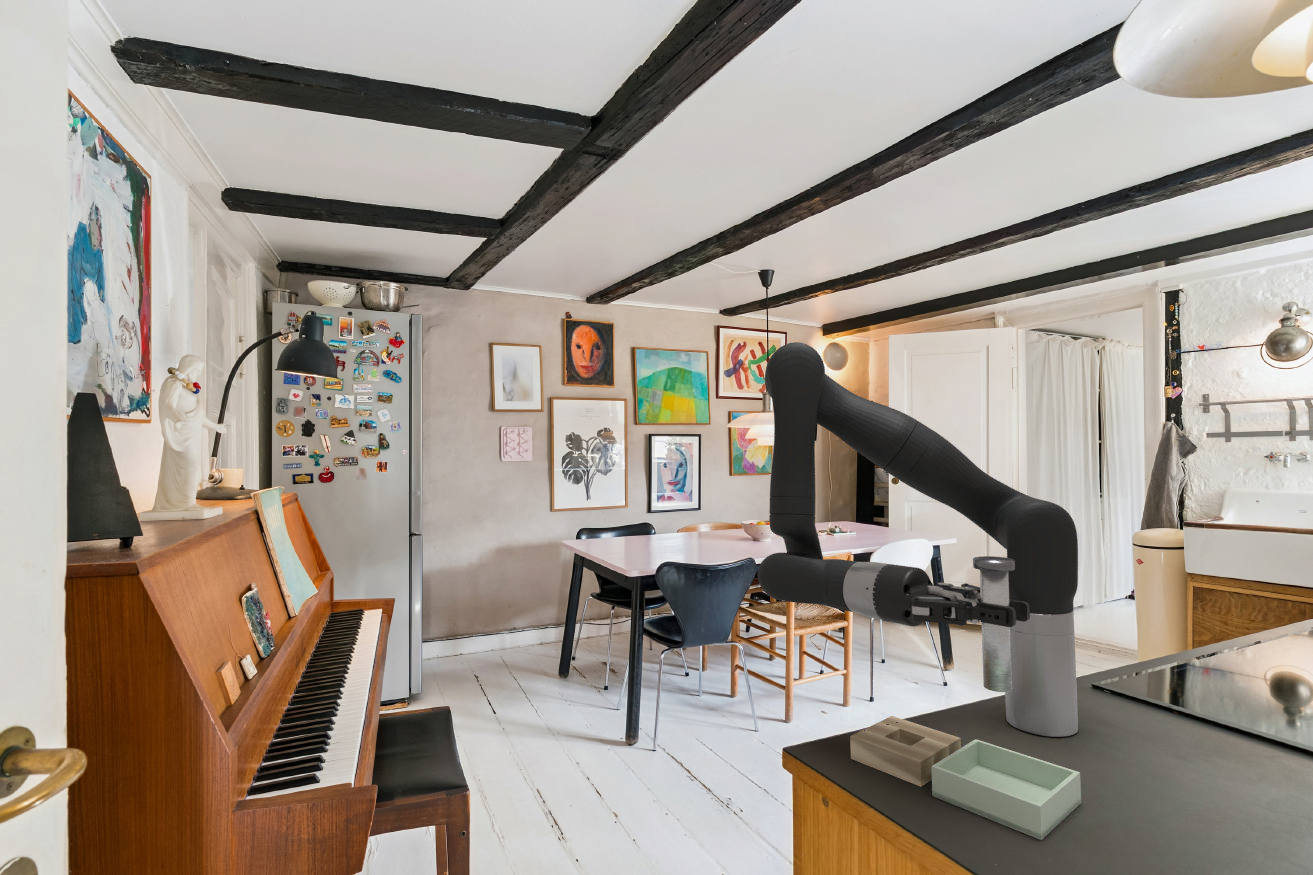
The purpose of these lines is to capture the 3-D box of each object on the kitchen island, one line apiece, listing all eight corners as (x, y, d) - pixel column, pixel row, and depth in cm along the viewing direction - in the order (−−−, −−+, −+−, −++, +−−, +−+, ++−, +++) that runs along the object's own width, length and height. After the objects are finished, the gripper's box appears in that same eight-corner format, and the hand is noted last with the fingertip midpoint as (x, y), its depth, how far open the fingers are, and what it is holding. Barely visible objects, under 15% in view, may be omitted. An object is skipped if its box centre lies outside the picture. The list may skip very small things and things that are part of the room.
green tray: (976, 766, 86) (975, 738, 86) (1081, 802, 77) (1080, 772, 77) (932, 795, 79) (931, 766, 79) (1041, 840, 70) (1040, 806, 70)
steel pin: (987, 678, 82) (983, 555, 82) (1025, 687, 78) (1021, 559, 78) (970, 686, 79) (965, 559, 79) (1008, 697, 75) (1004, 563, 76)
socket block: (892, 736, 95) (891, 715, 95) (961, 760, 88) (960, 737, 88) (850, 758, 89) (850, 735, 89) (921, 786, 81) (920, 761, 81)
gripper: (854, 571, 86) (991, 591, 72) (914, 557, 94) (1046, 573, 81) (856, 629, 85) (994, 661, 72) (915, 611, 94) (1048, 635, 81)
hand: (1020, 614), depth 76 cm, fingers closed on steel pin, 3 cm apart
